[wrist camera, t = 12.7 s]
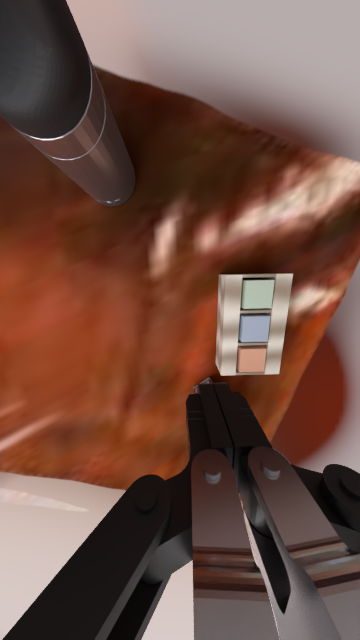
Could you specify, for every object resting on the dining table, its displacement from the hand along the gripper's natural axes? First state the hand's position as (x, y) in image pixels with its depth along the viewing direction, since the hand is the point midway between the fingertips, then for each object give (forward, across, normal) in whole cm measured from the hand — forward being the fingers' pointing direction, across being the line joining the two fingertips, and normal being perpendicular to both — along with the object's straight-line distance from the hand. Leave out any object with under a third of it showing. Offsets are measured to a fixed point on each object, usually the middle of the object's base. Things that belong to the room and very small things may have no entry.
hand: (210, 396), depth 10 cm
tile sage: (+27, -13, -1) cm, 31 cm away
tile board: (+29, -13, +5) cm, 32 cm away
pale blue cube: (+27, -13, +5) cm, 31 cm away
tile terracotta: (+27, -13, +12) cm, 32 cm away
